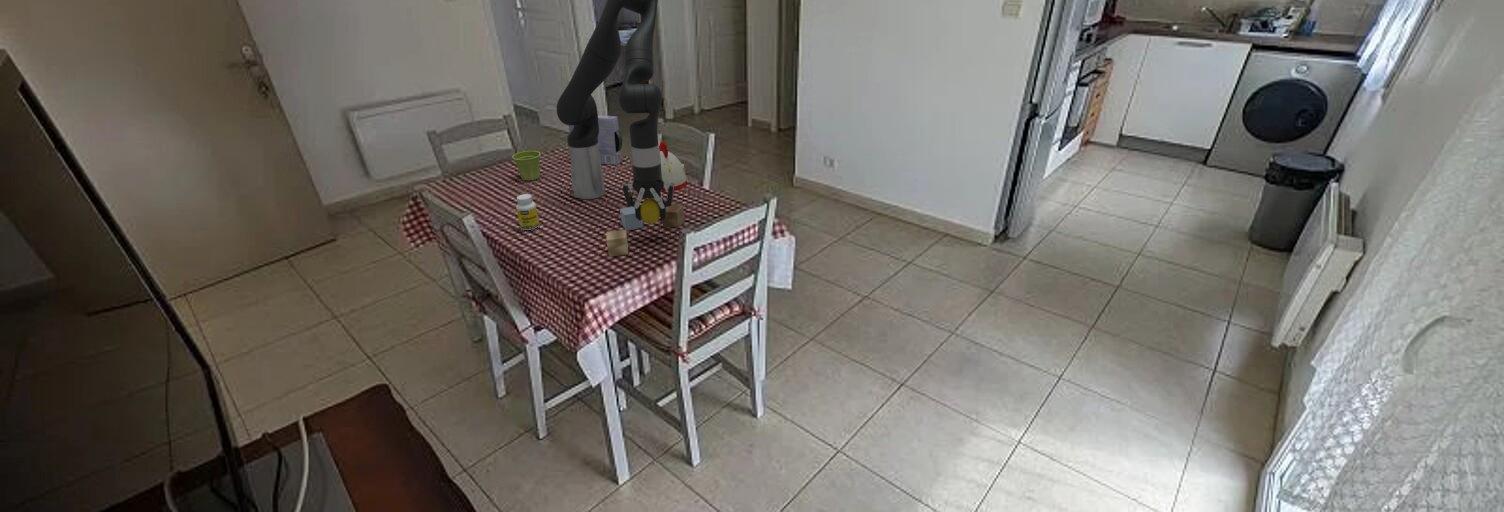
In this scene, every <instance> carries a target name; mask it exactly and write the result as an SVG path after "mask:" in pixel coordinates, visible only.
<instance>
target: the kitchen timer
mask: <svg viewBox="0 0 1504 512" xmlns="http://www.w3.org/2000/svg"><path fill="white" fill-rule="evenodd" d="M659 150H660V156H661V172H662V180H663V182H664V183H665V184H671V183H673V184H674V191H673V192H677V191H678V190H682V189H684V188H685V187H686V186H687V184H688V181H687V180H688V179H687V175H686V168H685V165H684V163H681V161H680V160H679V158H678V157H677V156H675V154H674V153H672V152H671V151H669V149H668V148H667V144H666V143H665V142H664V141H663V140H662V141H660V143H659ZM685 185H686V186H685ZM683 187H684V188H683ZM661 193H667V192H666V189H665V188H663V189H662V190H661Z"/></svg>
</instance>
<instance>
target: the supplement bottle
mask: <svg viewBox="0 0 1504 512" xmlns="http://www.w3.org/2000/svg"><path fill="white" fill-rule="evenodd" d="M516 200H517V204H516V207H515V208H516V212H517V213H516V214H517V217H518V223H519V227H520V229H521V230H522V229H523V230H522V231H524V230H531V229H535V228H537V227H538V228H540V226H541V225H540V220H539V215H538V209H537V204H536V202H535V201H533V197H532V194H530V193H529V194H528V193H523V194H520V195H517V196H516ZM539 225H540V226H539ZM538 228H537V229H538ZM535 230H536V229H535ZM531 231H532V230H531Z"/></svg>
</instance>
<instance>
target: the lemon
mask: <svg viewBox="0 0 1504 512" xmlns="http://www.w3.org/2000/svg"><path fill="white" fill-rule="evenodd" d="M640 206H641V208H640V213H641V217H642V221H644V222H645V223H647V224H650V226H651V225H654V224H655V223H657V222H658V221H659V220H660V206H659V204H658V202H657V201H656V200H655V198H645V199H644V200H643V201H641V203H640Z"/></svg>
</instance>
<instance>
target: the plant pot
mask: <svg viewBox="0 0 1504 512" xmlns="http://www.w3.org/2000/svg"><path fill="white" fill-rule="evenodd" d="M511 158H512V159H513V160H514V163H515V164H516V166H517V169H518V172H519V175H520V177H521V180H522V181H524V180H533V181H534V180H536V179H537V180H539V179H540V178H539V177H541V169H540V158H541V152H540V151H537V150H525V151H520V152H517V153H515V154H513V155H512V156H511ZM538 178H539V179H538Z"/></svg>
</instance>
